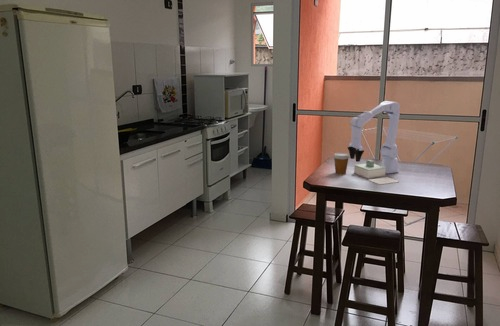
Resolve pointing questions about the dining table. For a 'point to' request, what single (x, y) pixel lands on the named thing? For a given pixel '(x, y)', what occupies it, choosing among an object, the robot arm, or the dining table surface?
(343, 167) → the disposable coffee cup
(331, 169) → the dining table surface
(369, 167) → the lid
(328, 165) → the dining table surface
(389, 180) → the mat
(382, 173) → the tub
